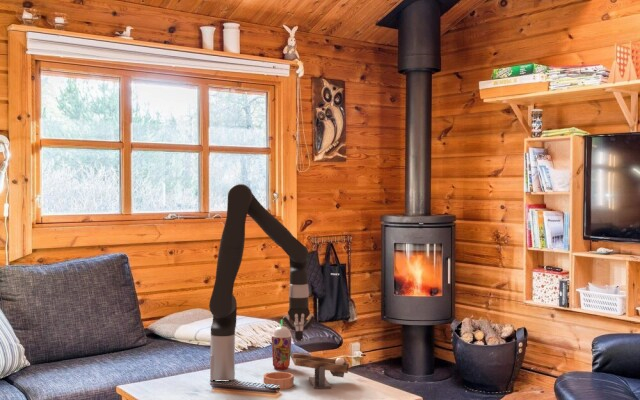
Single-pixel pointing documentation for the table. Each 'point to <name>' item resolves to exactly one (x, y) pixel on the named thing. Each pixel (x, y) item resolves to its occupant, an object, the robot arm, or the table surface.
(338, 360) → the ball
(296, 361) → the lever
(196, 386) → the table surface
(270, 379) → the orange bowl
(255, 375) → the table surface
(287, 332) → the smoothie
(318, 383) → the stand
